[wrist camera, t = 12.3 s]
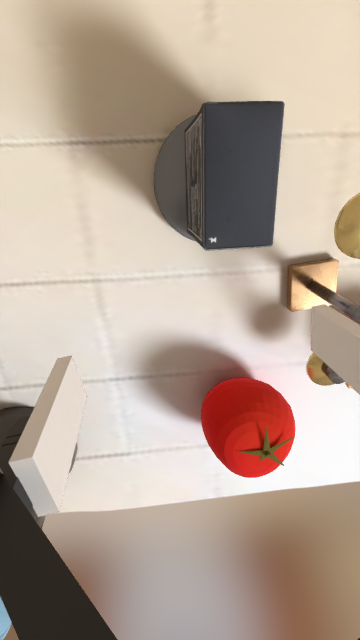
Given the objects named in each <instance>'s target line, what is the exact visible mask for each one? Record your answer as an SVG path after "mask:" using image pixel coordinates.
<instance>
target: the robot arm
mask: <svg viewBox="0 0 360 640" xmlns="http://www.w3.org/2000/svg"><path fill="white" fill-rule="evenodd" d="M311 351H313V352H314V353H315V354H316V355H317V356H318V357H319V358H320V359H321V360H322V361H323V362H325V363H326V364H327V365H328V366H329V367H330V368H331V369H332V370H333V371H334V372H336V373H337V374H338V375H339V376H340V377H341V378H342V379H343V380H344V381H345V382H347V383H348V384H349V385H350V386H351V387H352V388H353V389H354V390H355V391H356V392H357V393H359V394H360V325H359V324H358V323H356V322H354V321H353V320H351V319H349V318H348V317H346V316H344V315H343V314H341V313H339V312H338V311H336V310H334V309H333V308H331V307H329V306H328V305H326V304H322V305H317V306H312V311H311ZM86 400H87V396H86V393H85V390H84V387H83V384H82V382H81V379H80V376H79V373H78V370H77V368H76V365H75V362H74V359H73V356H67V357H63V358H58V359H57V361H56V363H55V365H54V367H53V369H52V371H51V373H50V376H49V378H48V380H47V382H46V384H45V386H44V388H43V390H42V393H41V395H40V397H39V399H38V401H37V403H36V405H35V407H34V408H27V407H13V408H7V409H2V410H0V640H3V639H4V637H5V636H6V634H7V632H8V630H9V628H10V625H11V623H12V624H13V626H14V628H15V631H16V633H17V636H18V638H19V640H117V639H116V637H115V636H114V634H113V633H112V631H111V630H110V628H109V627H108V626H107V624H106V623H105V621H104V620H103V618H102V617H101V615H100V614H99V612H98V611H97V609H96V608H95V607H94V605H93V604H92V602H91V601H90V599H89V598H88V596H87V595H86V594H85V592H84V591H83V589H82V588H81V586H80V585H79V583H78V582H77V580H76V579H75V578H74V576H73V575H72V573H71V572H70V570H69V569H68V567H67V566H66V565H65V563H64V562H63V560H62V559H61V557H60V556H59V554H58V553H57V551H56V550H55V548H54V547H53V546H52V544H51V543H50V541H49V540H48V539H47V537H46V535H45V534H44V533H43V531H42V526H43V523H44V520H45V516H46V515H49V514H53V513H58V512H60V508H61V504H62V500H63V496H64V492H65V488H66V483H67V479H68V475H69V473H70V471H71V469H72V467H73V465H74V461H75V457H76V454H77V438H78V433H79V429H80V425H81V421H82V417H83V413H84V408H85V404H86ZM358 640H360V638H359V639H358Z"/></svg>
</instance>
